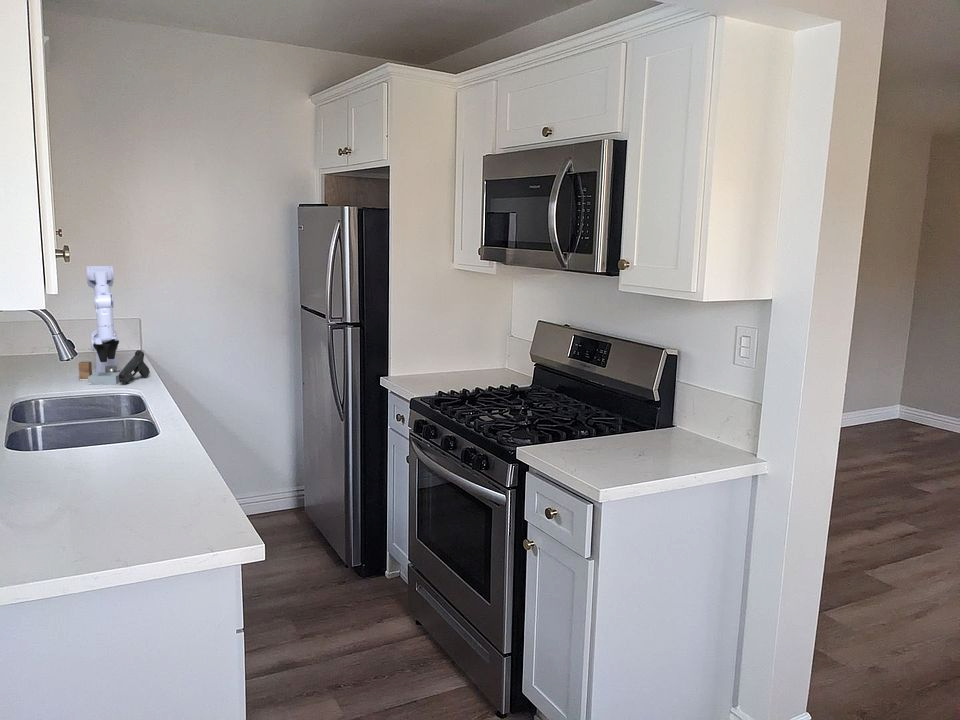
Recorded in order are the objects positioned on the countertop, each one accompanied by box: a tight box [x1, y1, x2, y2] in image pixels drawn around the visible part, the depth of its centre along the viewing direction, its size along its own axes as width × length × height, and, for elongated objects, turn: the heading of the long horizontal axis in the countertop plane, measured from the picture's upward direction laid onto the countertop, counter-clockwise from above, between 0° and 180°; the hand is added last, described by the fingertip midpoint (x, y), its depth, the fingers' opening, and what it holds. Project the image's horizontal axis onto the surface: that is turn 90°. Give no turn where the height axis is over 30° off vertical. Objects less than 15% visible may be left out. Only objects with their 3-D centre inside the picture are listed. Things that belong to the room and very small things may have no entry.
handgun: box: [118, 349, 151, 385], centre depth 296 cm, size 2×17×12 cm, turn 174°
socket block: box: [87, 371, 121, 385], centre depth 294 cm, size 9×10×3 cm
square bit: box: [77, 361, 93, 380], centre depth 297 cm, size 4×4×7 cm
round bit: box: [105, 365, 119, 372], centre depth 301 cm, size 4×4×5 cm
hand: (107, 360), depth 292 cm, fingers open, 7 cm apart
